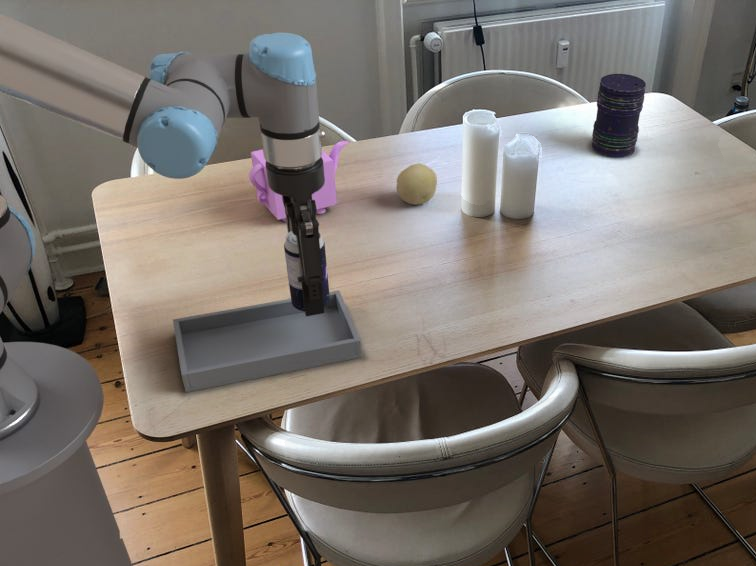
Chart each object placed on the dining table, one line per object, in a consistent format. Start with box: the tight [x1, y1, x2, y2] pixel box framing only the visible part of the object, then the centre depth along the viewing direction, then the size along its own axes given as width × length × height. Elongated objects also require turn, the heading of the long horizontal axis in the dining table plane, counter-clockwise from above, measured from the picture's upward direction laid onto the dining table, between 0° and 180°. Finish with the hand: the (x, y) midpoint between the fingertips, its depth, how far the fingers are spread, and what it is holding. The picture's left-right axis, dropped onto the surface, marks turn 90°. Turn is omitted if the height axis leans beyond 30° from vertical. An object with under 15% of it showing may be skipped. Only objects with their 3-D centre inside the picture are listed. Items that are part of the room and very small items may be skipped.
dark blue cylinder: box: [590, 73, 647, 159], centre depth 180 cm, size 10×10×15 cm
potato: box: [395, 163, 438, 205], centre depth 160 cm, size 8×8×8 cm
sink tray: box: [172, 290, 362, 393], centre depth 126 cm, size 26×14×3 cm, turn 111°
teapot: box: [248, 140, 350, 223], centre depth 156 cm, size 20×10×12 cm, turn 123°
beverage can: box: [283, 231, 330, 313], centre depth 121 cm, size 6×6×12 cm
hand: (310, 301), depth 124 cm, fingers closed on beverage can, 6 cm apart
